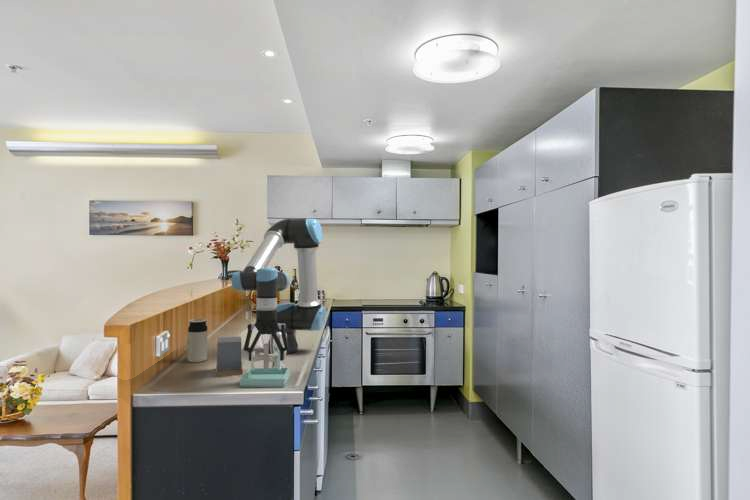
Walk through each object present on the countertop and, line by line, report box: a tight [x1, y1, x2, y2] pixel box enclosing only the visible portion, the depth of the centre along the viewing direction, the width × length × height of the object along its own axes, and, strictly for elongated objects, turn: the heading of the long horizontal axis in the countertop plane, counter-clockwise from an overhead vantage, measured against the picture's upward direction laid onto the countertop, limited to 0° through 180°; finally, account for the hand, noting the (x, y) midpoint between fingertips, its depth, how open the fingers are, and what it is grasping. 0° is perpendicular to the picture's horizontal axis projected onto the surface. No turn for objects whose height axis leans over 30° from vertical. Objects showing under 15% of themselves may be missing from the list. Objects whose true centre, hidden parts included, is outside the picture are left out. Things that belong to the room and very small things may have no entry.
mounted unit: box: [214, 336, 244, 378], centre depth 177 cm, size 13×10×13 cm
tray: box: [239, 367, 291, 389], centre depth 164 cm, size 16×16×3 cm
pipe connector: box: [253, 342, 278, 371], centre depth 164 cm, size 10×10×10 cm
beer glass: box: [269, 332, 287, 368], centre depth 180 cm, size 7×7×15 cm
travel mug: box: [187, 318, 208, 363], centre depth 195 cm, size 8×8×18 cm
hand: (266, 369), depth 164 cm, fingers closed on pipe connector, 9 cm apart
